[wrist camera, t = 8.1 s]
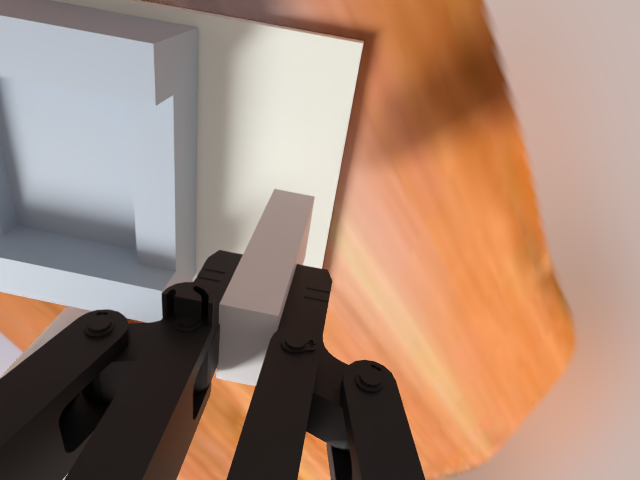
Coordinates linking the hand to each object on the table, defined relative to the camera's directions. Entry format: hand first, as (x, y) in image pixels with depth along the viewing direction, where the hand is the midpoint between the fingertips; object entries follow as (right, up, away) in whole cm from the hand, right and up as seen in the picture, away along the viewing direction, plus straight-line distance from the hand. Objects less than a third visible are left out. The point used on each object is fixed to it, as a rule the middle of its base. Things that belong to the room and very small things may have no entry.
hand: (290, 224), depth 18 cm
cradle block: (-9, +4, +4) cm, 11 cm away
